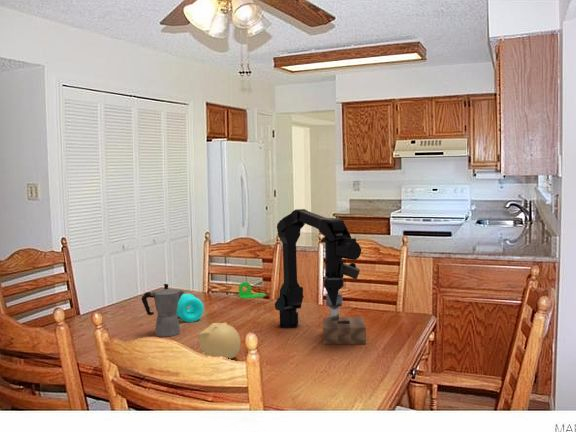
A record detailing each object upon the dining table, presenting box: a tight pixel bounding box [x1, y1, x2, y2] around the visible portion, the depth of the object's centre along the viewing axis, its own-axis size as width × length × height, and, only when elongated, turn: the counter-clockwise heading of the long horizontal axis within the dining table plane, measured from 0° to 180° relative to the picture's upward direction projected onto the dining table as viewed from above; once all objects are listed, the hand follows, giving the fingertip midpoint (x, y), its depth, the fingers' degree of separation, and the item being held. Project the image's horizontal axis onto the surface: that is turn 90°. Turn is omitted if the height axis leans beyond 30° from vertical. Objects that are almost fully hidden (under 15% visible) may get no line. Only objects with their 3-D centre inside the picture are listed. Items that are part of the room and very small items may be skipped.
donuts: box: [176, 293, 205, 323], centre depth 217 cm, size 10×10×10 cm
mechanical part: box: [238, 281, 266, 299], centre depth 255 cm, size 12×6×8 cm, turn 107°
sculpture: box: [198, 322, 241, 360], centre depth 169 cm, size 12×12×11 cm
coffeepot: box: [141, 283, 185, 338], centre depth 198 cm, size 15×9×18 cm, turn 116°
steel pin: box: [325, 292, 343, 321], centre depth 183 cm, size 5×5×8 cm
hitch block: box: [322, 316, 367, 345], centre depth 187 cm, size 14×14×6 cm
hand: (334, 303), depth 183 cm, fingers closed on steel pin, 5 cm apart
